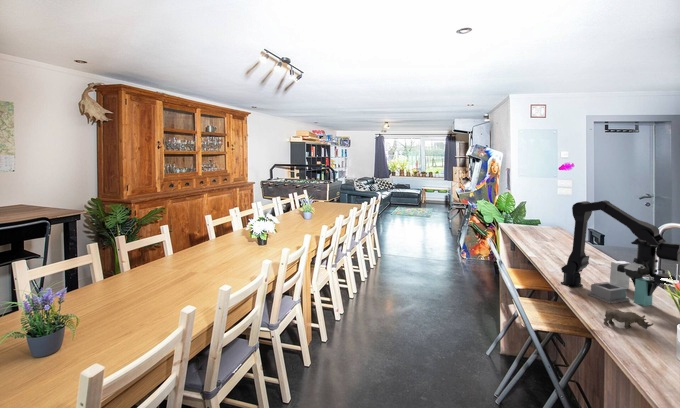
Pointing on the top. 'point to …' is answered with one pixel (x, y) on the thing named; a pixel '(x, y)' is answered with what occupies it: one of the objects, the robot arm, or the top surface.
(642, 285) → the teal peg
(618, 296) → the socket block
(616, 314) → the rhino figurine
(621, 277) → the skincare box
